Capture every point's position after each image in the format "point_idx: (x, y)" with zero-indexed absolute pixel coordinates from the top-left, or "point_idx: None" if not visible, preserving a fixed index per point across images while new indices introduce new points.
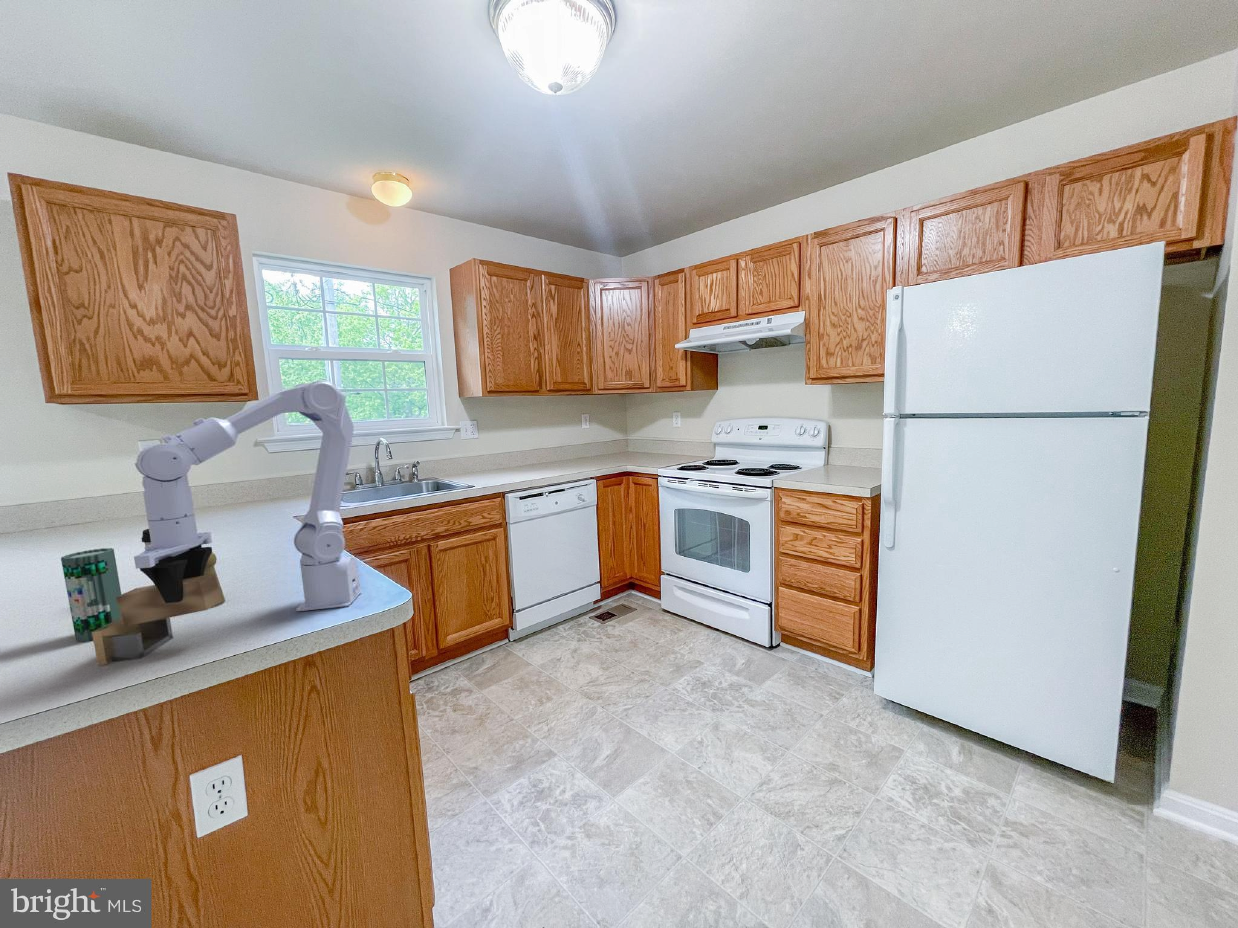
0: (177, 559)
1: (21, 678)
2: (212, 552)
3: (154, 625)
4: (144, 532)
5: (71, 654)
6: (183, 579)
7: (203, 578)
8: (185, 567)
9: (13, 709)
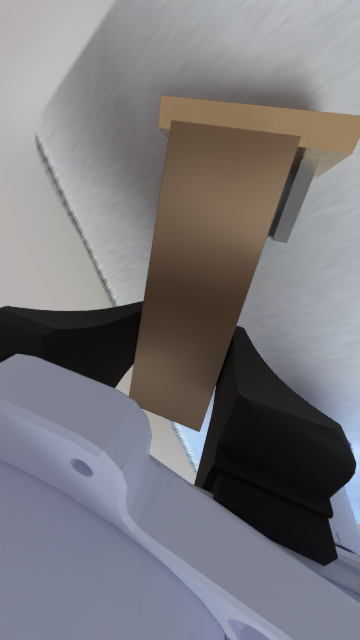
0: (227, 406)
1: None
2: None
3: (283, 204)
4: None
5: None
6: (221, 351)
7: (155, 409)
8: (222, 393)
9: (58, 93)
